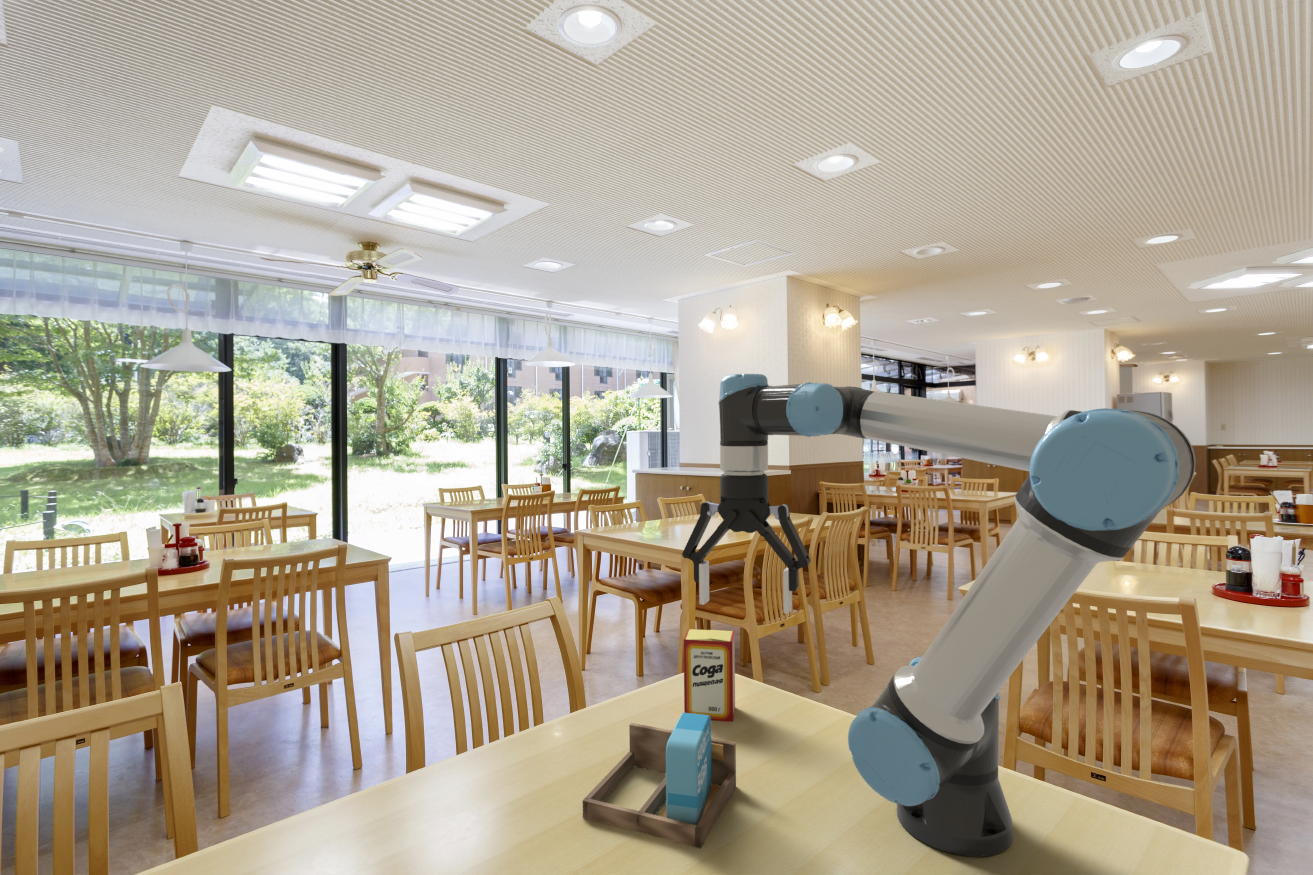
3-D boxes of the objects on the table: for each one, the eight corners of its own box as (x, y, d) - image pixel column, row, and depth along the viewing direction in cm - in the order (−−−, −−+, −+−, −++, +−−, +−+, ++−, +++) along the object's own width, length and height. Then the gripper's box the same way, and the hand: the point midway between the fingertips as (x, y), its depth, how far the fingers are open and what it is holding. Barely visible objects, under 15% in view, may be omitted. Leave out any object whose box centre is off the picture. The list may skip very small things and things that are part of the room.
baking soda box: (684, 718, 129) (683, 637, 129) (688, 704, 136) (688, 627, 135) (732, 721, 128) (732, 639, 127) (735, 707, 134) (734, 629, 134)
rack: (736, 786, 105) (735, 742, 105) (700, 848, 90) (699, 797, 90) (631, 763, 112) (631, 722, 112) (582, 816, 97) (582, 769, 97)
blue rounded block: (697, 832, 93) (696, 747, 93) (666, 827, 94) (665, 744, 94) (711, 786, 104) (711, 711, 104) (684, 782, 106) (683, 708, 105)
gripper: (828, 472, 102) (829, 608, 103) (679, 469, 112) (680, 593, 113) (820, 476, 95) (820, 622, 96) (661, 472, 105) (663, 604, 106)
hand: (745, 606), depth 104 cm, fingers open, 13 cm apart
